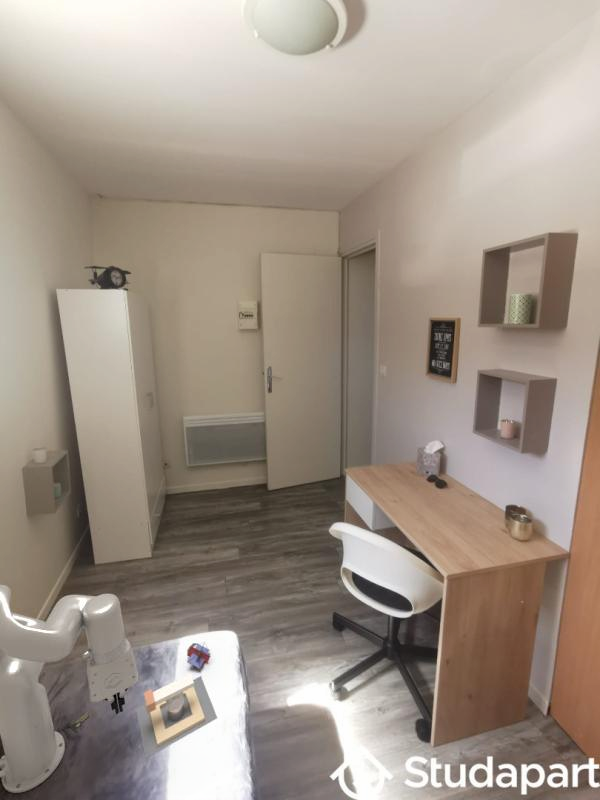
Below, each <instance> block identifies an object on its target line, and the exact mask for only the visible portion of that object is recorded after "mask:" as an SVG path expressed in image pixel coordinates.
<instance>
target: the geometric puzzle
mask: <svg viewBox="0 0 600 800" xmlns="http://www.w3.org/2000/svg"><path fill="white" fill-rule="evenodd" d="M201 644H203V642H201V643H200V642H199V643H194V642H193V643H192V644H190V646H189V647H188V648H187V651H186V652H187V660H186V661H187V662H186V663H187V664H189V666H190V665H192V666H193V667H194V668H195V667H196V669H199V670H201V669H202V668H204V667H203V666H204V664H209V661H210V658H211V655H210V651H211V650H210V649H209V648H208V647H206V646H207V644H206V643H204V644H203V645H201ZM204 645H205V646H204ZM190 668H192V667H191V666H190Z"/></svg>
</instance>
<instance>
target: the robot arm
mask: <svg viewBox="0 0 600 800" xmlns="http://www.w3.org/2000/svg"><path fill="white" fill-rule="evenodd" d="M11 594H12V591H11V589H10V587H9V586H7V585H4V584H0V651H1V652H0V739H1V743H2V747H3V751H4V755H2V756H1V758H0V769H1V770H0V778H1V782H2V786H3V787H4V789H5V790H6V791H8V792H10V793H13V794H16V793H17V794H20V793H23V792H24V793H25V792H27V791H30V790H32V789H34V788H37V786H39V785H40V784H42V783H43V782H44V781H46V779H48V778H49V777H50V776H51V775H52V774H53V773H54V771H55V770H56V769H57V768H58V767H59V765H60V763H61V761H62V760H63V756H64V755H65V749H66V747H65V746H66V744H65V740H64V737H63V735H62V734H61V733H60V732H58V731H55V729H54V723H53V719H52V713H51V709H50V708H51V707H50V704H49V698H48V694H47V690H46V688H45V686H44V684H41V683H40V682H39V679H40V678H39V677H40V675H41V672H42V671H43V667H45V664H46V663H53V662H58V661H60V660H63V659H64V658H66V657H67V656H68V655H69V654H70V653H71V651H72V650H73V649H74V647H75V644H76V642H77V640H78V638H79V636H80V634H81V632H82V630H83V629H84V630H85V634H86V635H85V636H86V639H87V645H88V648H87V649H86V650H85V651H83V652H81V653H82V659H83V660H84V659H87V666H86V667H87V669H86V671H87V672H86V673H87V682H88V683H87V684H88V690H89V701H90V702H91V703H98V702H101V701H107V702H108V703H109V704H110V708H111V711H114V712H115V715H118V714H119V713H123V712H124V708H123V706H124V705H125V704H126V701H125V696H126V693H127V691H128V689H130V688H131V687H132V686H134V685H135V684H136V683H137V682H138V680H139V679H140V675H139V673H138V668H137V664H136V659H135V654H134V651H133V648H132V646H131V644H130V642H129V640H128V639H127V638H126V634H125V627H124V622H123V615H122V609H121V602H120V600H119V597H117V595H116V594H113V593H102V594H99V595H84V594H69V595H65V596H63V597H61V598H60V599H59V600H58V601H57V602H56V604H55V605H54V607H53V609H52V610H51V613H50V614H49V615H48V617H47V619H46V620H45V621H44V620H41V619H37V618H34V617H30V616H27V615H23V614H19V613H15V612H12V611H11V606H10V603H11V598H12V597H11V596H12V595H11Z"/></svg>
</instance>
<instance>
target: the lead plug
mask: <svg viewBox="0 0 600 800" xmlns="http://www.w3.org/2000/svg"><path fill="white" fill-rule="evenodd" d="M166 707H167V716H168V719H169V720H170V721H172V722H175V721H178V720H180V719H181V718H182V717H183V715H184V712H185V709H184V698H183V692H182V693H180V694H178V695H176V696H174V697H172V698H170V699H168V700H166Z"/></svg>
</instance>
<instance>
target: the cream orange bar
mask: <svg viewBox="0 0 600 800" xmlns="http://www.w3.org/2000/svg"><path fill="white" fill-rule="evenodd" d="M193 678H194V677H193V676H192V673H189V674H187V675H185V676H183V677H181V678H178V680H175V681H172V682H171V683H169V684H167V685H164V686H162V687H160V688H158V689H157V690H155V691H153V688H151V689H149V690H146V691H145V692H143V697H144V704H146V708H147V713H150V712H152V711H154V710H156V705H158V704H160V703H162V702H164V701H166V700H168V699H170V698H172V697H174V696H176V695H178V694H180V693H182V692H184V691H186V690H188V689H190V688H192V687H194V681H193V680H194V679H193Z"/></svg>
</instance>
